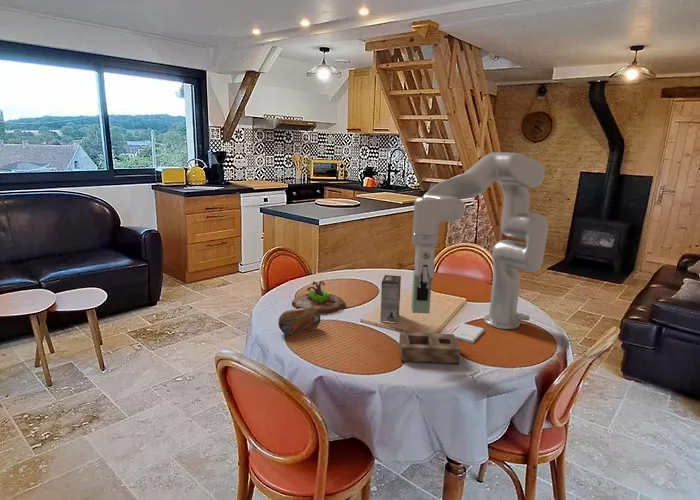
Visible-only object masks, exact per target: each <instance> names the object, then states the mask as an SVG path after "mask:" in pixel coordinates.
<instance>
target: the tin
mask: <svg viewBox="0 0 700 500" xmlns="http://www.w3.org/2000/svg"><path fill="white" fill-rule="evenodd" d="M320 323H321V314H319V312H318V311H317V310H316V309H314V308H311V307H306V308H300V309H296V308H295V309H289V310H285V311H284V312H283V313H281V315H280V316H279V318H278V327H279V329H280V331H281V333H283V334H284V335H287V336H292V335H297V334H302V333H303V334H304V333H309V332H312V331H314V330H316V329H317V328H318V326H319V325H320Z"/></svg>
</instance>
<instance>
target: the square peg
mask: <svg viewBox="0 0 700 500" xmlns="http://www.w3.org/2000/svg"><path fill="white" fill-rule="evenodd" d="M412 275H413V276H412V292H411V311H412V314H430V308H431V307H430V306H431V295H432V280H433V279H431V278H430V277H429V275H428V300H427V301H418V300H417V287H418V285H419V278H418V277H417V275H416V272H415V269H414V270H413V272H412ZM420 275H421V274H420ZM420 277H421V278H423V276H420ZM421 281H422V280H421Z"/></svg>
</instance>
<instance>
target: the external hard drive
mask: <svg viewBox="0 0 700 500" xmlns="http://www.w3.org/2000/svg"><path fill="white" fill-rule="evenodd" d="M484 332H485V329H484V328H483V327H479V326H475V325H470V324H467V323H461V324H460V325H458V327H457V328H456V329H454V331H453V332H452V333H451V334H454V336H455V338H456V340H457V341H462V342H466V343H469V344H474V342H475V341H476V340H478V338H479V337H480V336H481V335H482V334H483V333H484Z"/></svg>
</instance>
